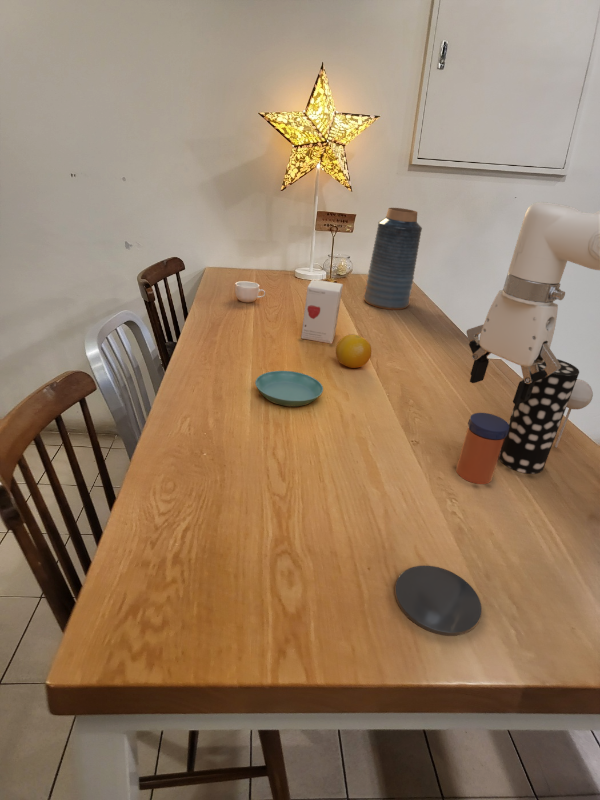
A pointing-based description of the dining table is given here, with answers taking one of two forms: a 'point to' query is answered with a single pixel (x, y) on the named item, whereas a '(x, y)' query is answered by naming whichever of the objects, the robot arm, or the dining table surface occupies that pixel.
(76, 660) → the dining table surface
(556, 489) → the dining table surface
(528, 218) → the robot arm
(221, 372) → the dining table surface
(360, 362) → the fruit
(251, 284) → the teacup
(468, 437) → the jar
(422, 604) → the coaster
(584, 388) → the lollipop
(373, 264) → the vase
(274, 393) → the saucer
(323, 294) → the rectangular carton
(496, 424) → the lid
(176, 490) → the dining table surface
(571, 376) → the spotted tube
